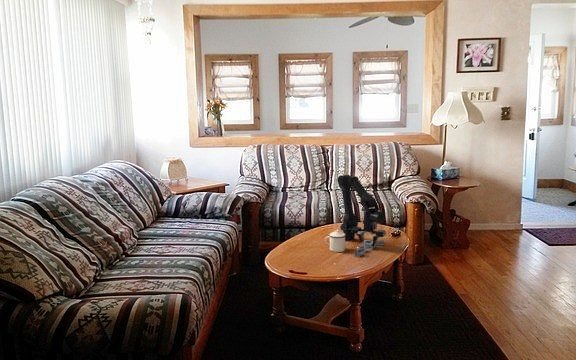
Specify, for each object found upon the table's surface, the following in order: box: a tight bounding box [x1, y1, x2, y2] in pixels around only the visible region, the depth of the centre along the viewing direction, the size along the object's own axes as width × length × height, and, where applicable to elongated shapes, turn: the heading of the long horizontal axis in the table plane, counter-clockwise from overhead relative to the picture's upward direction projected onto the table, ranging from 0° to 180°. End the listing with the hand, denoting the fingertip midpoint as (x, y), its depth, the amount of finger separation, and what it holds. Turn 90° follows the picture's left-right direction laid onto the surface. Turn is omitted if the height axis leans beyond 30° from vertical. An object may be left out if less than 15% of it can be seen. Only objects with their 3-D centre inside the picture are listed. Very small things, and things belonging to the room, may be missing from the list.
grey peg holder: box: [369, 237, 385, 247], centre depth 286 cm, size 8×8×5 cm
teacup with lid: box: [324, 229, 346, 253], centre depth 276 cm, size 12×9×12 cm
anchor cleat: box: [354, 246, 364, 258], centre depth 266 cm, size 5×3×5 cm, turn 150°
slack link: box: [359, 245, 368, 254], centre depth 273 cm, size 4×3×2 cm
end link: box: [361, 239, 376, 251], centre depth 279 cm, size 6×6×4 cm
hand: (368, 246), depth 279 cm, fingers closed on end link, 6 cm apart
